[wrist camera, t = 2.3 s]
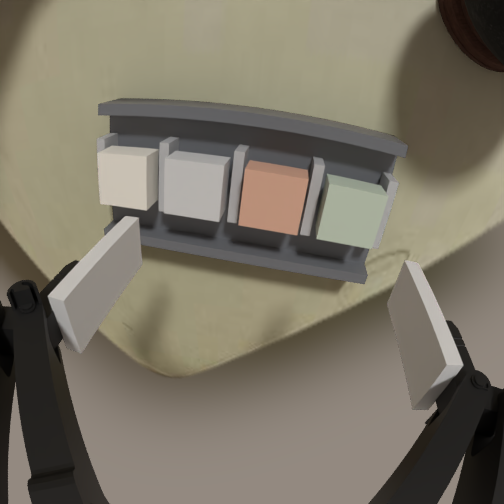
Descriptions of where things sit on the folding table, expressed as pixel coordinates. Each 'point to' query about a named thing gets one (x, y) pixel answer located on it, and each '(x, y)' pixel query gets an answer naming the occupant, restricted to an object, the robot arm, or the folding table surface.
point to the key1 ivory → (128, 176)
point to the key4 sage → (350, 211)
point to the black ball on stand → (477, 29)
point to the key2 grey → (196, 185)
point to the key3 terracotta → (273, 197)
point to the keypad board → (241, 152)
